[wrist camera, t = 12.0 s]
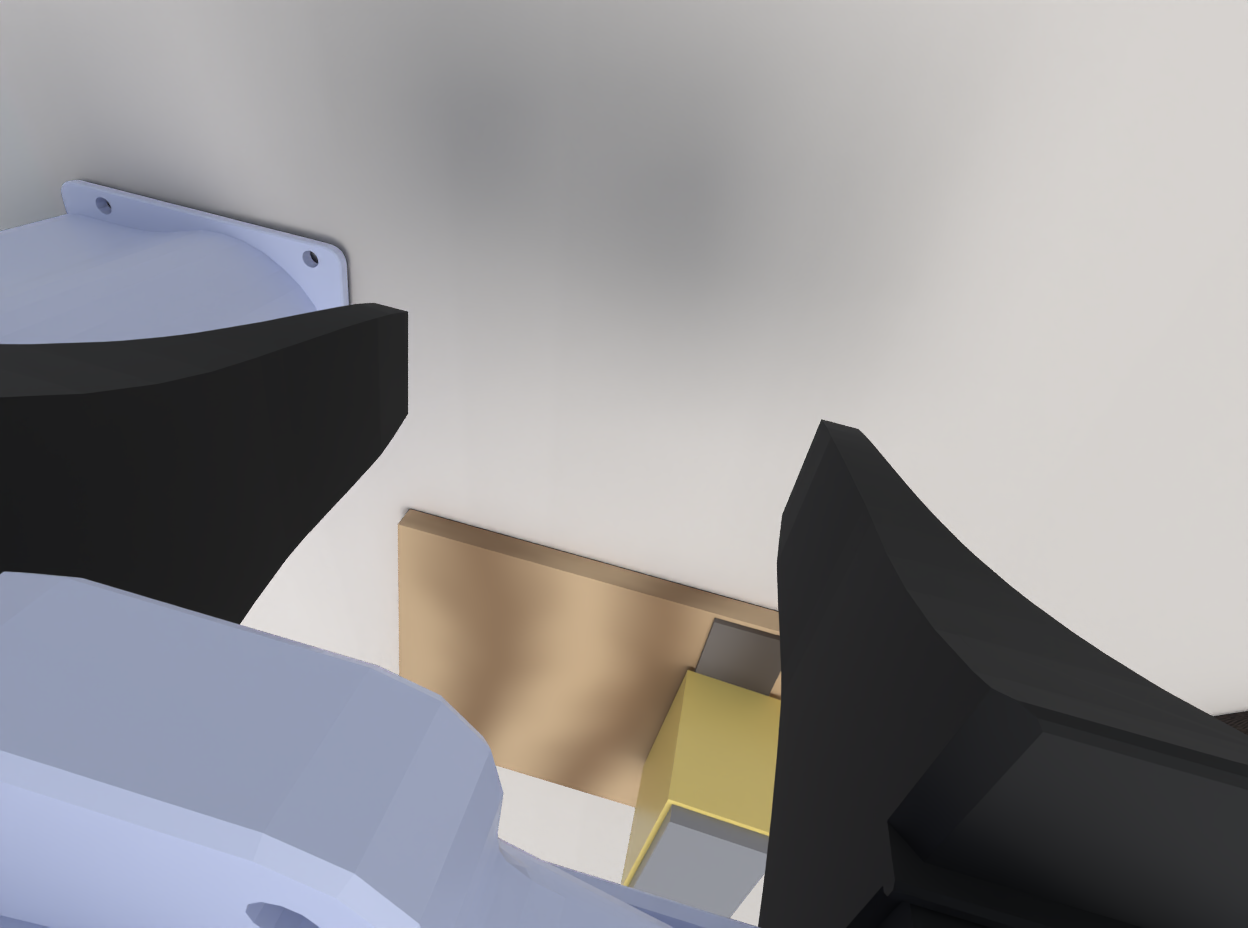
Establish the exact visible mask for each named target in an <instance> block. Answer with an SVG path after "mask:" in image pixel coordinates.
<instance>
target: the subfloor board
mask: <svg viewBox="0 0 1248 928" xmlns="http://www.w3.org/2000/svg"><path fill="white" fill-rule="evenodd" d="M398 584H399V676H401V677H403V678H405V679H407V680H410V681H412V682H414V683H416V684H418V685H420V686H422V687H424V688H426V689H429V690H431V691H433V692H435V693H437V694H439V695H441V696H442V697H443V698H444V699H445V700H446V701H447V702H448V703H449V704H450V705H451V706H452V707H453V708H454V709H455V710H456V711H457V712H458V713H459V714H460V715H461V716H463V717H464V718H465V719H466V720H467V721H468V722H469V723H470V724H471V725H472V726H473V727H474V728H475V729H476V730H477V731H478V732H479V733H480V734H481V735H482V736H483V737H484V738H485V740H486V742H487V744H488V745H489V747H490V749H491V752H492V755H493V759H494V762H495V765H496V766H500V767H503V768H506V769H510V770H513V771H516V772H519V773H523V774H526V775H529V776H533V777H536V778H539V779H543V780H546V781H549V782H553V783H556V784H559V785H563V786H566V787H569V788H572V789H576V790H579V791H582V792H586V793H589V794H592V795H596V796H599V797H602V798H606V799H609V800H612V801H616V802H619V803H622V804H625V805H629V806H632V807H635V808H636V802H637V797H638V792H639V787H640V782H641V776H642V771H643V766H644V764H645V761H646V759H647V757H648V755H649V753H650V751H651V748H652V746H653V744H654V742H655V740H656V738H657V735H658V733H659V731H660V729H661V727H662V725H663V722H664V720H665V718H666V716H667V714H668V712H669V709H670V707H671V705H672V703H673V701H674V698H675V696H676V694H677V692H678V690H679V688H680V685H681V683H682V681H683V679H684V677H685V675H686V672H687V670H689V671H693V672H696V673H699V674H702V675H705V676H708V677H711V678H714V679H717V680H720V681H723V682H726V683H729V684H732V685H735V686H739V687H742V688H745V689H748V690H751V691H754V692H757V693H760V694H763V695H766V696H769V697H772V698H775V699H778V700H781V658H780V634H779V612H777V611H773V610H770V609H766V608H763V607H759V606H755V605H752V604H748V603H745V602H741V601H738V600H734V599H730V598H727V597H723V596H720V595H716V594H712V593H709V592H705V591H702V590H698V589H695V588H691V587H687V586H684V585H680V584H677V583H673V582H670V581H666V580H662V579H659V578H655V577H652V576H648V575H645V574H641V573H637V572H634V571H630V570H627V569H623V568H619V567H616V566H612V565H609V564H605V563H602V562H598V561H594V560H591V559H587V558H584V557H580V556H577V555H573V554H569V553H566V552H562V551H559V550H555V549H552V548H548V547H544V546H541V545H537V544H534V543H530V542H526V541H523V540H519V539H516V538H512V537H509V536H505V535H501V534H498V533H494V532H491V531H487V530H484V529H480V528H476V527H473V526H469V525H466V524H462V523H459V522H455V521H451V520H448V519H444V518H441V517H437V516H433V515H430V514H426V513H423V512H419V511H416V510H412V509H409V511H408V512H407V513H406V515H405V516H404V517H403V518H402V520H401V521H400V522H399V524H398Z"/></svg>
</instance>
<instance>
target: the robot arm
mask: <svg viewBox="0 0 1248 928" xmlns="http://www.w3.org/2000/svg"><path fill="white" fill-rule="evenodd" d="M61 193H62V198H63V201H64V205H65V208H66V212H67V214H64V215H61V216H57V217H53V218H49V219H45V220H41V221H37V222H33V223H29V224H26V225H22V226H18V227H14V228H10V229H6V230H2V231H0V928H1248V735H1246V734H1244V733H1242V732H1240V731H1239V730H1237V729H1235V728H1233V727H1231V726H1229V725H1227V724H1226V723H1224V722H1222V721H1220V720H1218V719H1216V718H1215V717H1213V716H1211V715H1209V714H1207V713H1205V712H1204V711H1202V710H1200V709H1198V708H1196V707H1194V706H1192V705H1191V704H1189V703H1187V702H1185V701H1183V700H1181V699H1180V698H1178V697H1176V696H1174V695H1172V694H1170V693H1169V692H1167V691H1165V690H1163V689H1162V688H1160V687H1158V686H1157V685H1155V684H1153V683H1152V682H1150V681H1148V680H1147V679H1145V678H1144V677H1142V676H1140V675H1139V674H1137V673H1135V672H1134V671H1132V670H1131V669H1129V668H1127V667H1126V666H1124V665H1123V664H1121V663H1119V662H1118V661H1116V660H1114V659H1113V658H1111V657H1110V656H1108V655H1106V654H1105V653H1103V652H1102V651H1100V650H1099V649H1097V648H1096V647H1094V646H1093V645H1091V644H1090V643H1088V642H1087V641H1085V640H1084V639H1082V638H1081V637H1079V636H1078V635H1076V634H1075V633H1073V632H1072V631H1070V630H1069V629H1068V628H1066V627H1065V626H1064V625H1062V624H1061V623H1059V622H1058V621H1057V620H1055V619H1054V618H1053V617H1051V616H1050V615H1048V614H1047V613H1046V612H1044V611H1043V610H1041V609H1040V608H1039V607H1037V606H1036V605H1035V604H1033V603H1032V602H1031V601H1029V600H1028V599H1027V598H1025V597H1024V596H1023V595H1022V594H1020V593H1019V592H1018V591H1016V590H1015V589H1014V588H1013V587H1011V586H1010V585H1009V584H1008V583H1007V582H1005V581H1004V580H1003V579H1002V578H1001V577H1000V576H998V575H997V574H996V573H995V572H994V571H993V570H991V569H990V568H989V567H988V566H987V565H986V564H984V563H983V562H982V561H981V560H980V559H979V558H977V557H976V556H975V555H974V554H973V553H972V552H971V551H970V550H969V549H968V548H967V547H965V546H964V545H963V544H962V543H961V542H960V541H959V540H958V539H957V538H956V537H955V536H954V535H953V534H952V533H951V532H950V531H949V530H948V529H947V528H946V527H945V526H944V525H943V524H942V523H941V522H940V521H939V520H938V519H937V518H936V517H935V515H934V514H933V513H932V512H931V511H930V510H929V509H928V508H927V507H926V506H925V505H924V504H923V502H922V501H921V500H920V499H919V498H918V497H917V496H916V495H915V493H914V492H913V491H912V490H911V489H910V488H909V487H908V485H907V484H906V483H905V482H904V481H903V480H902V478H901V477H900V476H899V475H898V474H897V472H896V471H895V470H894V469H893V468H892V467H891V465H890V464H889V463H888V462H887V461H886V459H885V458H884V457H883V456H882V455H881V453H880V452H879V451H878V450H877V449H876V447H875V446H874V445H873V444H872V443H871V442H870V440H869V439H868V438H867V437H866V436H865V435H864V434H863V433H862V432H861V431H860V430H859V429H856V428H852V427H848V426H845V425H841V424H837V423H833V422H829V421H825V420H822V419H821V422H820V424H819V427H818V429H817V432H816V434H815V436H814V439H813V441H812V444H811V446H810V449H809V451H808V453H807V456H806V458H805V461H804V463H803V466H802V468H801V471H800V473H799V475H798V478H797V480H796V483H795V485H794V488H793V490H792V492H791V495H790V497H789V500H788V502H787V505H786V507H785V509H784V512H783V514H782V521H781V530H780V538H779V547H778V558H777V583H778V610H779V634H780V658H781V707H780V720H779V733H778V747H777V759H776V770H775V781H774V792H773V802H772V813H771V823H770V832H769V841H768V849H767V858H766V867H765V876H764V885H763V893H762V901H761V909H760V916H759V924H758V927H756V926H753V925H750V924H747V923H744V922H740V921H737V920H734V919H731V918H727V917H724V916H721V915H718V914H714V913H711V912H708V911H705V910H702V909H698V908H695V907H692V906H689V905H685V904H682V903H679V902H676V901H672V900H669V899H666V898H663V897H660V896H656V895H653V894H650V893H647V892H643V891H640V890H637V889H634V888H630V887H627V886H624V885H621V884H618V883H614V882H611V881H608V880H605V879H601V878H598V877H595V876H592V875H588V874H585V873H582V872H579V871H576V870H572V869H569V868H566V867H563V866H559V865H556V864H553V863H550V862H547V861H543V860H541V859H539V858H537V857H535V856H533V855H531V854H529V853H527V852H525V851H524V850H522V849H520V848H518V847H516V846H514V845H512V844H510V843H508V842H506V841H504V840H502V839H500V838H498V826H499V819H500V813H501V806H502V800H503V790H502V787H501V783H500V780H499V776H498V773H497V769H496V766H495V762H494V759H493V755H492V752H491V749H490V747H489V745H488V744H487V742H486V740H485V738H484V737H483V736H482V735H481V734H480V733H479V732H478V731H477V730H476V729H475V728H474V727H473V726H472V725H471V724H470V723H469V722H468V721H467V720H466V719H465V718H464V717H463V716H461V715H460V714H459V713H458V712H457V711H456V710H455V709H454V708H453V707H452V706H451V705H450V704H449V703H448V702H447V701H446V700H445V699H444V698H443V697H442V696H441V695H439V694H437V693H435V692H433V691H431V690H429V689H426V688H424V687H422V686H420V685H418V684H416V683H414V682H412V681H410V680H407V679H405V678H403V677H401V676H399V675H397V674H395V673H393V672H391V671H388V670H386V669H384V668H382V667H380V666H378V665H374V664H371V663H368V662H364V661H361V660H357V659H354V658H351V657H347V656H344V655H341V654H337V653H334V652H330V651H327V650H324V649H320V648H317V647H314V646H310V645H307V644H303V643H300V642H297V641H293V640H290V639H286V638H283V637H280V636H276V635H273V634H270V633H266V632H263V631H259V630H256V629H253V628H249V627H246V626H242V625H240V623H241V622H242V620H243V619H244V617H245V616H246V614H247V613H248V612H249V610H250V609H251V607H252V606H253V604H254V603H255V601H256V600H257V599H258V597H259V596H260V595H261V593H262V592H263V590H264V589H265V588H266V586H267V585H268V584H269V582H270V581H271V579H272V578H273V577H274V575H275V574H276V573H277V571H278V570H279V569H280V567H281V566H282V564H283V563H284V562H285V560H286V559H287V558H288V557H289V555H290V554H291V553H292V552H293V551H294V549H295V548H296V547H297V546H298V545H299V544H300V542H301V541H302V540H303V539H304V538H305V537H306V536H307V534H308V533H309V532H310V531H311V530H312V529H313V528H314V527H315V526H316V525H317V524H318V523H319V522H320V521H321V519H322V518H323V517H324V516H325V515H326V514H327V513H328V512H329V511H330V510H331V509H332V508H333V507H334V505H335V504H336V503H337V502H338V501H339V500H340V499H341V498H342V497H343V496H344V495H345V494H346V493H347V492H348V491H349V489H350V488H351V487H352V486H353V485H354V484H355V483H356V482H357V481H358V480H359V479H360V477H361V476H362V475H363V474H364V473H365V472H366V471H367V470H368V469H369V468H370V467H371V465H372V464H373V463H374V462H375V461H376V460H377V459H378V457H379V456H380V455H381V454H382V453H383V451H384V450H385V448H386V447H387V445H388V444H389V442H390V441H391V440H392V438H393V437H394V435H395V433H396V432H397V430H398V429H399V427H400V426H401V424H402V422H403V421H404V419H405V418H406V416H407V414H408V312H407V311H403V310H399V309H395V308H392V307H388V306H384V305H380V304H376V303H364V304H354V305H349V298H348V279H347V263H346V259H345V256H344V255H343V253H342V251H341V250H339V249H338V248H337V247H336V246H334V245H332V244H328V243H324V242H320V241H316V240H313V239H309V238H305V237H301V236H297V235H293V234H289V233H285V232H281V231H277V230H274V229H270V228H266V227H262V226H258V225H254V224H250V223H246V222H242V221H238V220H234V219H231V218H227V217H223V216H219V215H215V214H211V213H207V212H203V211H199V210H195V209H191V208H188V207H184V206H180V205H176V204H172V203H168V202H164V201H160V200H156V199H152V198H148V197H145V196H141V195H137V194H133V193H129V192H125V191H121V190H117V189H113V188H109V187H105V186H102V185H98V184H94V183H90V182H86V181H82V180H71V181H67V182H65V183H63V185H62V187H61ZM106 200H107V201H108V202H109V204H110V206H111V208H110V207H109V206H108V204H107V202H106ZM310 251H311V252H313V253H314V254H315V255H316V256H317V258H318V261H319V262H318V264H317V263H316V262H314V261H313V260H312V258H311V256H310Z"/></svg>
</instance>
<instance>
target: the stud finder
mask: <svg viewBox="0 0 1248 928" xmlns="http://www.w3.org/2000/svg"><path fill="white" fill-rule="evenodd" d="M780 707H781V700H778V699H775V698H772V697H769V696H766V695H763V694H760V693H757V692H754V691H751V690H748V689H745V688H742V687H739V686H735V685H732V684H729V683H726V682H723V681H720V680H717V679H714V678H711V677H708V676H705V675H702V674H699V673H696V672H693V671H689V670H687V672H686V675H685V677H684V679H683V681H682V683H681V685H680V688H679V690H678V692H677V694H676V696H675V698H674V701H673V703H672V705H671V707H670V709H669V712H668V714H667V716H666V718H665V720H664V722H663V725H662V727H661V729H660V731H659V733H658V735H657V738H656V740H655V742H654V744H653V746H652V748H651V751H650V753H649V755H648V757H647V759H646V761H645V764H644V766H643V771H642V776H641V782H640V787H639V792H638V797H637V802H636V808H635V813H634V818H633V823H632V829H631V834H630V839H629V844H628V849H627V855H626V860H625V865H624V870H623V876H622V881H621V885H624V886H627V887H630V888H634V889H637V890H640V891H643V892H647V893H650V894H653V895H656V896H660V897H663V898H666V899H669V900H672V901H676V902H679V903H682V904H685V905H689V906H692V907H695V908H698V909H702V910H705V911H708V912H711V913H714V914H718V915H721V916H724V917H727V918H730V917H731V916H732V915H733V913H734V912H735V911H736V910H737V908H738V907H739V906H740V904H741V903H742V902H743V901H744V899H745V898H746V897H747V895H748V894H749V893H750V892H751V890H752V889H753V888H754V886H755V885H756V884H757V883H758V881H759V880H760V879H761V878H762V876H763V875H764V874H765V867H766V858H767V849H768V841H769V832H770V823H771V813H772V802H773V792H774V781H775V770H776V759H777V747H778V733H779V720H780Z"/></svg>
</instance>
